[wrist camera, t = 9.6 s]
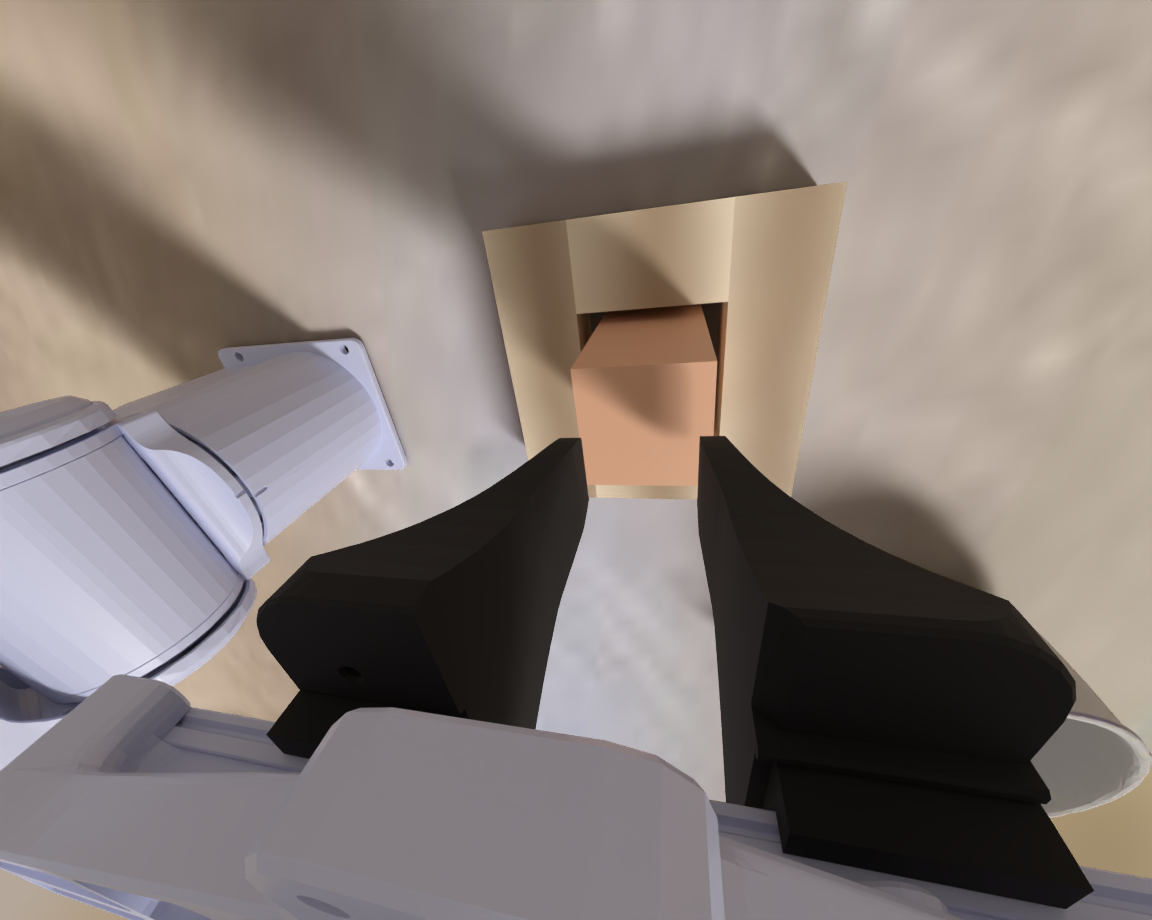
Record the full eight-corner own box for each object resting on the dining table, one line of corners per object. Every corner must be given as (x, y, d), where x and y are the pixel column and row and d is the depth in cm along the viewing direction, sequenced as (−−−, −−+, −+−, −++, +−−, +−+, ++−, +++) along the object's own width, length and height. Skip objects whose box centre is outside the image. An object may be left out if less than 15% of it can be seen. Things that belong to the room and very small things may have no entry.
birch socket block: (550, 465, 24) (535, 496, 21) (508, 227, 18) (481, 231, 15) (776, 466, 21) (790, 501, 19) (818, 185, 15) (846, 181, 13)
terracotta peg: (613, 393, 20) (585, 484, 14) (607, 310, 19) (570, 369, 12) (697, 390, 20) (710, 486, 13) (700, 302, 18) (717, 360, 11)
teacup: (1011, 540, 21) (1173, 700, 14) (1026, 670, 25) (1156, 842, 18) (731, 594, 26) (751, 727, 20) (780, 693, 30) (811, 831, 24)
